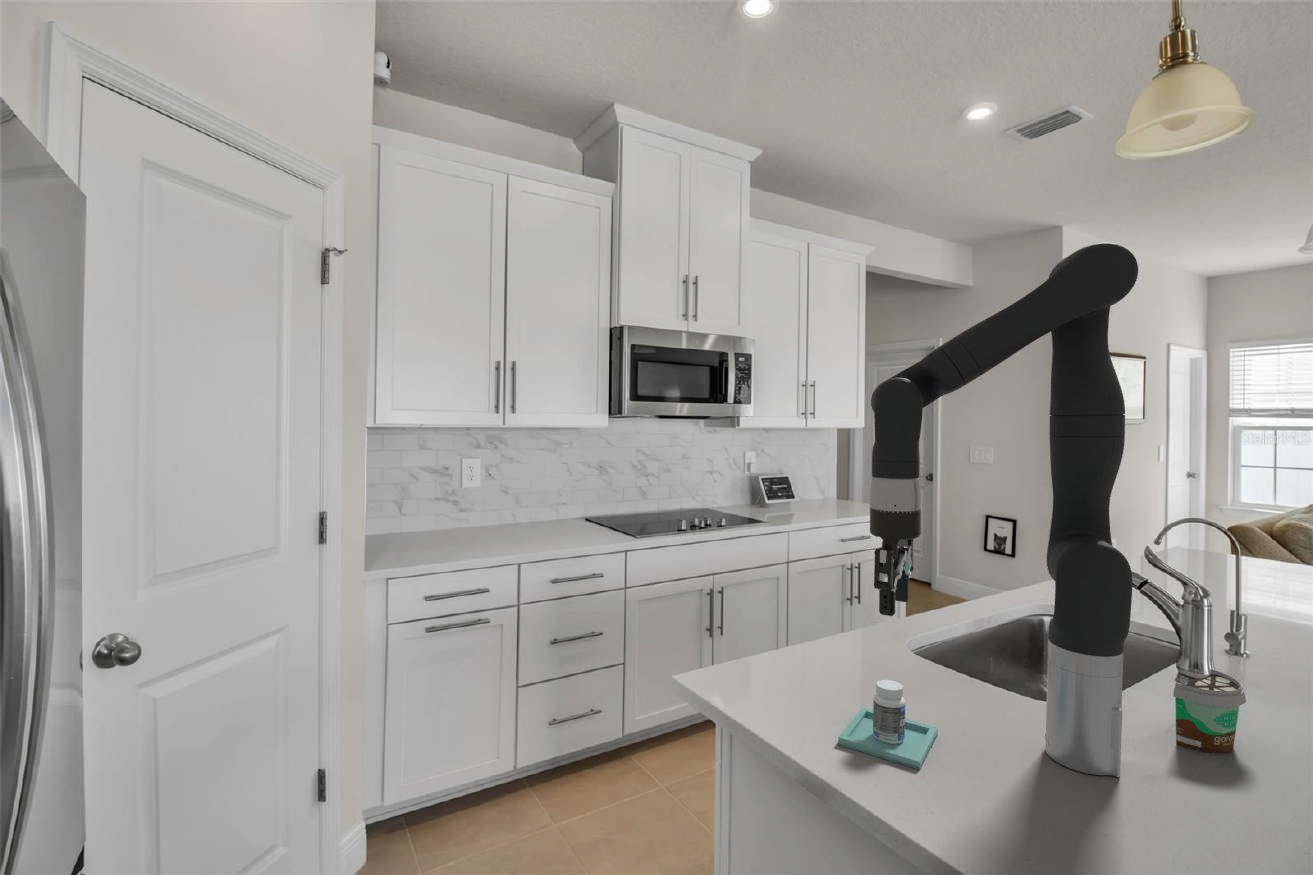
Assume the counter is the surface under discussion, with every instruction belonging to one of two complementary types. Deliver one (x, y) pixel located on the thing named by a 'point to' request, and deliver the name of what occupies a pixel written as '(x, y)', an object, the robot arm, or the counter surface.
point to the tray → (903, 753)
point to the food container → (1208, 713)
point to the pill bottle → (889, 712)
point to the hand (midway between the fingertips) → (894, 607)
